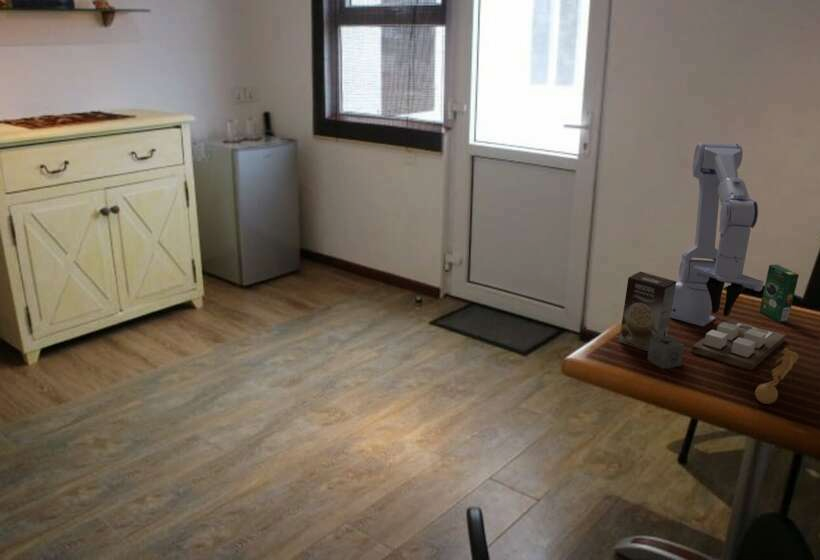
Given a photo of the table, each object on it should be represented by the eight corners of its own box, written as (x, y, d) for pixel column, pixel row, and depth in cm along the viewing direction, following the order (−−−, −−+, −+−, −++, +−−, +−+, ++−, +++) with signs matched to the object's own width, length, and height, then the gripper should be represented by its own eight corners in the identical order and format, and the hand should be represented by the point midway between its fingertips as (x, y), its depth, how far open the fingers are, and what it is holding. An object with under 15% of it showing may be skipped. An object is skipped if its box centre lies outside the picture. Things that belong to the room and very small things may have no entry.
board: (691, 352, 164) (692, 344, 163) (728, 325, 180) (730, 318, 180) (750, 370, 156) (752, 362, 155) (784, 340, 172) (786, 333, 171)
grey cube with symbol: (647, 360, 160) (650, 339, 158) (665, 356, 161) (668, 336, 160) (663, 369, 155) (666, 348, 154) (681, 366, 157) (684, 344, 156)
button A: (715, 336, 169) (717, 325, 168) (721, 331, 171) (723, 321, 171) (731, 340, 167) (733, 330, 166) (737, 336, 169) (739, 326, 168)
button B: (742, 343, 165) (744, 333, 164) (747, 339, 168) (749, 328, 167) (758, 348, 163) (760, 337, 162) (764, 343, 165) (766, 333, 164)
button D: (731, 352, 160) (733, 341, 159) (736, 347, 163) (738, 337, 162) (747, 357, 158) (750, 346, 157) (753, 352, 160) (755, 341, 160)
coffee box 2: (789, 322, 184) (800, 273, 179) (779, 323, 183) (790, 274, 179) (768, 311, 191) (777, 263, 187) (758, 311, 190) (768, 264, 186)
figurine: (752, 391, 146) (763, 336, 142) (785, 397, 144) (797, 342, 140) (754, 410, 139) (766, 352, 135) (789, 416, 137) (802, 358, 133)
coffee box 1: (617, 342, 168) (626, 276, 163) (630, 334, 173) (639, 270, 168) (654, 354, 162) (665, 286, 157) (667, 346, 167) (677, 280, 162)
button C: (704, 344, 164) (705, 333, 163) (710, 340, 166) (712, 329, 166) (720, 349, 162) (722, 338, 161) (726, 344, 164) (728, 334, 163)
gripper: (691, 251, 159) (681, 309, 163) (759, 266, 150) (748, 327, 154) (703, 245, 164) (694, 301, 168) (771, 259, 155) (759, 318, 159)
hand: (720, 313), depth 162 cm, fingers closed
